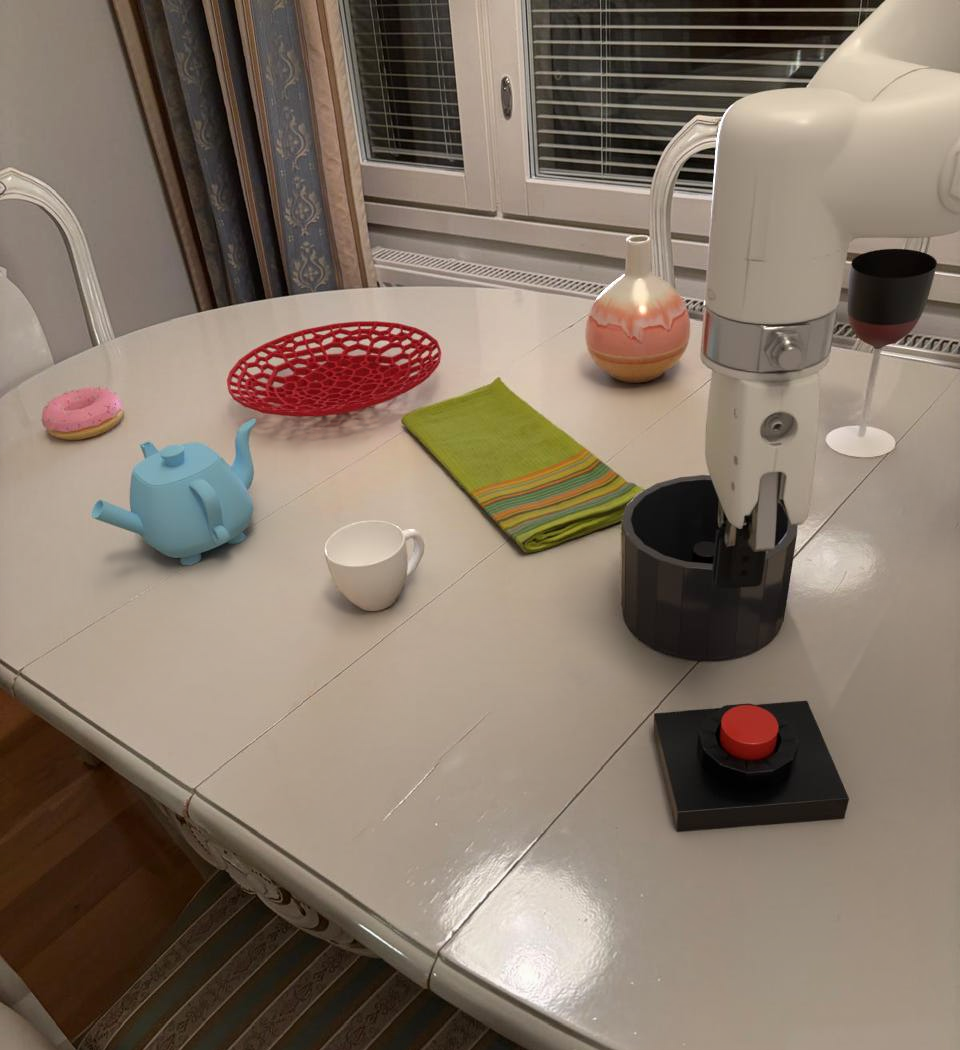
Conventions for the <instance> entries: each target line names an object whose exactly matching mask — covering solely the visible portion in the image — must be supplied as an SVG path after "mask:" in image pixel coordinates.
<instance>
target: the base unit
mask: <svg viewBox="0 0 960 1050" xmlns="http://www.w3.org/2000/svg"><path fill="white" fill-rule="evenodd" d="M740 705H753V706H758V707H761V708H763V709H765V710H767V711H768V712H770V713H771V714H772V715H773V716H774V717H775V718H776V720H777V722H778V727H779V728H778V735H777V741H776V746H775V749H774V751H773V752H772V753H771V754H770V755H768V756H767V757H765V758H762V759H758V760H744V759H741V758H738V757H734V756H732V755H731V754H729V753H728V752H727V751H726V750H725V749H724V748H723V746H722V745H721V742H720V729H721V720H722V717H723V715H724V714H725V713H726V712H727V711H728V710H729V709H731V708H733V707H736V706H740ZM818 725H819V724H818V722H817V720H816V718H815V716H814V714H813V711H812V709H811V706H810V704H809V702H808V700H795V701H784V702H773V703H772V702H771V703H762V704H761V703H760V704H754V703H737V704H726V705H723V706H721V707H714V708H713V707H711V708H700V709H690V710H679V711H678V710H677V711H667V712H665V711H664V712H655V713H653V729H652V731H653V732H652V733H653V736H654V741H655V746H656V749H657V753H658V759H659V763H660V767H661V771H662V775H663V779H664V784H665V788H666V792H667V797H668V799H669V806H670V809H671V814H672V818H673V822H674V826H675V831H676V832H689V831H700V830H714V829H725V828H726V829H727V828H740V827H751V826H752V827H753V826H763V825H765V826H767V825H777V824H778V825H779V824H790V823H802V822H813V821H814V822H815V821H827V820H828V821H829V820H839V819H840V820H841V819H845V817H846V813H847V810H848V805H849V801H850V797H849V795H848V792H847V790H846V788H845V785H844V783H843V781H842V778H841V776H840V774H839V772H838V771H839V770H838V769H837V767H836V764H835V762H834V760H833V758H832V757H833V756H832V755H831V753H830V750H829V748H828V746H827V744H826V742H825V739H824V737H823V735H822V734H823V733H822V732H821V729H820V727H819V726H818Z"/></svg>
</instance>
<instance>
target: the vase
mask: <svg viewBox="0 0 960 1050" xmlns="http://www.w3.org/2000/svg"><path fill="white" fill-rule="evenodd" d="M624 268H625V270H624V273H623V274H622V275H621V276H620V277H618V278H617V279H615V280H614V281H613V282H611V283H610V284H609V285H608V286H606V287H605V289H603V291H602V292H600V294H598V296H597V298H596V299H595V301H594V302H593V304H592V306H591V308H590V311H589V312H588V315H587V319H586V324H585V334H584V335H585V343H586V348H587V351H588V353H589V356H590V357H591V359H592V360H593V361H594V363H595V364H596V365H597V367H599V368H600V369H601V370H602V371H604V372H605V373H607V374H608V375H610V376H611V377H612V378H613V379H614V380H617V381H619V382H623V383H630V384H631V383H632V384H639V383H640V384H641V383H647V382H650V381H651V382H652V381H654V380H656V379H658V378H660V377H661V376H662V375H663V374H664V373H666V372H667V371H668V370H670V369H671V368H672V367H674V366H675V365H676V364H677V363H679V361H680V359H681V358H682V356H683V355H684V353H685V352H686V351H687V348H688V345H689V341H690V337H691V319H690V315H689V311H688V308H687V305H686V303H685V301H684V299H683V297H682V296H681V294H680V293H679V292H678V291H677V290H676V289H675V288H674V287H673V286H672V285H671V284H670V283H668V282H667V281H666V280H665V279H663V278H661V277H660V276H659V275H657V274H655V273H654V272H652V238H651V236H649V235H644V234H635V235H631V236H629V237H627V238H626V241H625V267H624Z"/></svg>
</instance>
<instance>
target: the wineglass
mask: <svg viewBox="0 0 960 1050" xmlns="http://www.w3.org/2000/svg"><path fill="white" fill-rule="evenodd" d="M937 265H938V261H937V259H936V258H935V257H934V256H933V255H931V254H928V253H927V252H923V251H919V250H913V249H907V248H884V249H876V250H870V251H867V252H863V253H861V254H859V255H857V256H855V257H854V258H853V259H852V261H851V263H850V270H849V278H848V289H847V318H848V322H849V327H850V329H851V331H852V333H853V334H854V335H855V336H856V337H857V338H858V339H859V340H860V341H862V342H863V343H864V344H867V345H869V346H871V347H873V351H872V356H871V362H870V367H869V372H868V378H867V383H866V389H865V394H864V400H863V406H862V410H861V416H860V421H859V425H846V426H841V427H838V428H835V429H833V430H831V431H830V432H828V434H826V438H825V442H826V445H827V446H828V447H829V448H830V449H831V450H832V451H834V452H835V451H836V453H839V454H842V455H844V456H849V457H854V458H856V457H857V458H874V457H879V456H884V455H886V454H888V453H890V452H891V451H893V450H894V449H895V447H896V443H897V442H896V440H895V438H894V437H893V436H892V435H891V434H890V433H889V432H887V431H885V430H883V429H881V428H877V427H874V426H868V422H869V417H870V411H871V404H872V400H873V395H874V389H875V386H876V385H875V384H876V380H877V379H876V378H877V376H878V375H877V373H878V369H879V363H880V358H881V353H882V349H883V348H884V347H886V346H889V345H893V344H895V343H896V342H898V341H900V340H903V339H904V338H905V337H907V335H909V334H910V333H911V332H912V331H913V330H914V328H915V327H916V326H917V324H918V322H919V321H920V319H921V317H922V315H923V312H924V310H925V308H926V306H927V302H928V299H929V296H930V293H931V289H932V286H933V282H934V278H935V274H936V269H937Z"/></svg>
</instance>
